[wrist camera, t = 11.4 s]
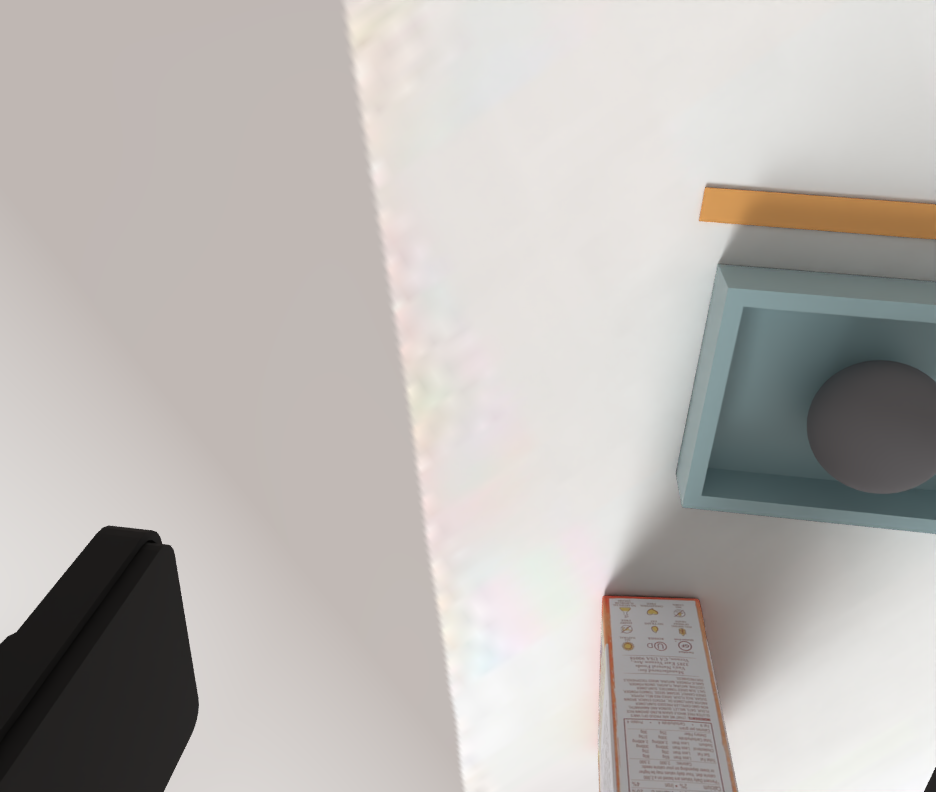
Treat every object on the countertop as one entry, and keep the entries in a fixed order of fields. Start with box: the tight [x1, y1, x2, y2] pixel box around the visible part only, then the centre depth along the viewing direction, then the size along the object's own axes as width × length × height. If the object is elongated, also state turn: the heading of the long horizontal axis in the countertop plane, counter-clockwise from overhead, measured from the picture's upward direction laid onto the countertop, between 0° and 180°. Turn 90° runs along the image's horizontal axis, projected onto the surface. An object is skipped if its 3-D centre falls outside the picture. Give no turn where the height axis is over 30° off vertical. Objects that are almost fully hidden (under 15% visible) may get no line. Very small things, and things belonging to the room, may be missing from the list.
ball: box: [807, 360, 936, 494], centre depth 37 cm, size 6×6×6 cm
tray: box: [676, 187, 936, 534], centre depth 38 cm, size 15×18×3 cm
